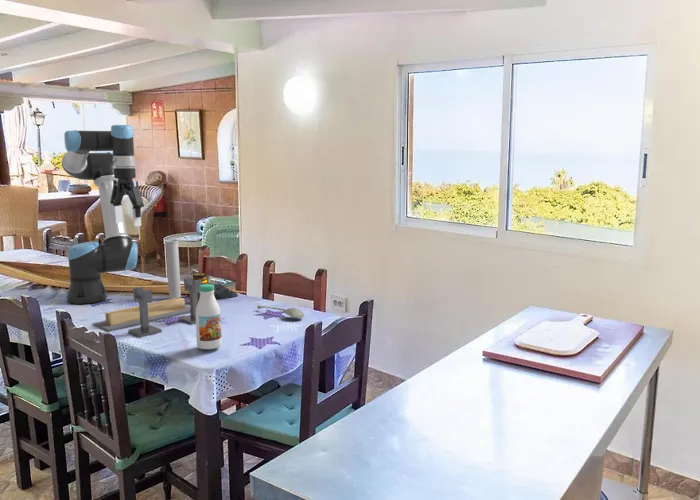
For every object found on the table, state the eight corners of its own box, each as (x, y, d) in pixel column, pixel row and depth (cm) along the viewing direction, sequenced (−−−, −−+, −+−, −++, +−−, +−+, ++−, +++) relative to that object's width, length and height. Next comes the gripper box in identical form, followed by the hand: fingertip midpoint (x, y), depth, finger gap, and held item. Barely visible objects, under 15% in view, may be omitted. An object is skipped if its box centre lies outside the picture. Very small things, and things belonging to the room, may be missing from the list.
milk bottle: (192, 348, 191) (189, 286, 188) (206, 341, 198) (203, 281, 195) (212, 351, 189) (210, 288, 185) (226, 343, 196) (223, 283, 192)
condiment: (211, 301, 251) (210, 272, 249) (203, 306, 242) (201, 277, 240) (195, 300, 252) (194, 272, 250) (186, 305, 244) (184, 276, 242)
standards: (128, 332, 208) (125, 289, 205) (197, 315, 228) (195, 276, 226) (140, 337, 203) (137, 292, 200) (210, 319, 223) (208, 279, 221)
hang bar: (106, 323, 216) (105, 312, 215) (179, 307, 238) (178, 297, 237) (111, 325, 213) (110, 314, 213) (184, 308, 236) (184, 298, 235)
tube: (183, 300, 252) (180, 241, 248) (171, 302, 249) (168, 242, 245) (178, 297, 256) (175, 239, 252) (166, 299, 253) (163, 240, 249)
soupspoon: (295, 321, 223) (307, 317, 228) (295, 313, 222) (307, 309, 228) (252, 310, 236) (264, 306, 241) (252, 302, 235) (264, 298, 240)
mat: (92, 325, 217) (92, 323, 217) (180, 305, 243) (180, 303, 243) (108, 332, 209) (108, 329, 209) (197, 311, 235) (197, 309, 235)
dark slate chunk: (221, 288, 276) (221, 278, 275) (239, 298, 258) (239, 287, 257) (188, 292, 268) (188, 282, 267) (205, 303, 250) (204, 291, 249)
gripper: (98, 166, 228) (102, 222, 232) (132, 168, 212) (136, 228, 216) (117, 166, 234) (120, 220, 238) (151, 168, 218) (155, 226, 221)
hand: (128, 224), depth 227 cm, fingers open, 13 cm apart
